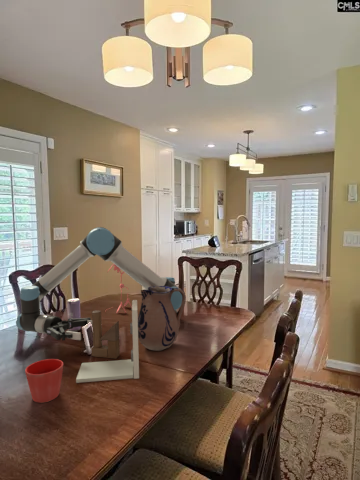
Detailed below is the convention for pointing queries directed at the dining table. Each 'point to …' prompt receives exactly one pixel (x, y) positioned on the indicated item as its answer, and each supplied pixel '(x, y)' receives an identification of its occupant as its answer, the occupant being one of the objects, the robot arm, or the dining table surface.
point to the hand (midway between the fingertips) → (91, 330)
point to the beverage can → (73, 311)
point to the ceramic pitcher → (159, 317)
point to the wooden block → (104, 338)
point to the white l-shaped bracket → (114, 368)
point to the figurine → (120, 287)
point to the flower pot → (44, 379)
